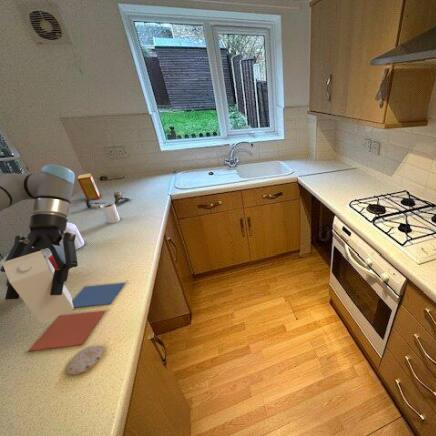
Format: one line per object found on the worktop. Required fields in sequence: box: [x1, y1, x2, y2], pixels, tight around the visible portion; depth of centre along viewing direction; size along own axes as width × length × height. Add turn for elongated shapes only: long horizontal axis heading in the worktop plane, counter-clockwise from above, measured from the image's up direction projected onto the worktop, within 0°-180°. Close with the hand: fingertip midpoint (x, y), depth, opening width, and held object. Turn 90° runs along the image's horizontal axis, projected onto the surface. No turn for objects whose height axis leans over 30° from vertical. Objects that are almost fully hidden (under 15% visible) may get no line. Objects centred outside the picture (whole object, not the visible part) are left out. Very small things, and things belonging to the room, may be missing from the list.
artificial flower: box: [85, 190, 130, 209], centre depth 155 cm, size 9×22×10 cm, turn 113°
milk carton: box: [0, 250, 75, 324], centre depth 65 cm, size 7×7×19 cm
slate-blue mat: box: [72, 282, 126, 309], centre depth 85 cm, size 14×10×1 cm
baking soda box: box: [77, 173, 101, 201], centre depth 163 cm, size 10×6×16 cm
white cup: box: [99, 202, 121, 224], centre depth 133 cm, size 7×7×10 cm
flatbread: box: [65, 345, 104, 376], centre depth 64 cm, size 8×8×1 cm
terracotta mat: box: [28, 310, 106, 352], centre depth 73 cm, size 14×12×1 cm
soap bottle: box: [60, 222, 85, 252], centre depth 107 cm, size 9×9×25 cm
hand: (34, 297), depth 63 cm, fingers closed on milk carton, 10 cm apart
